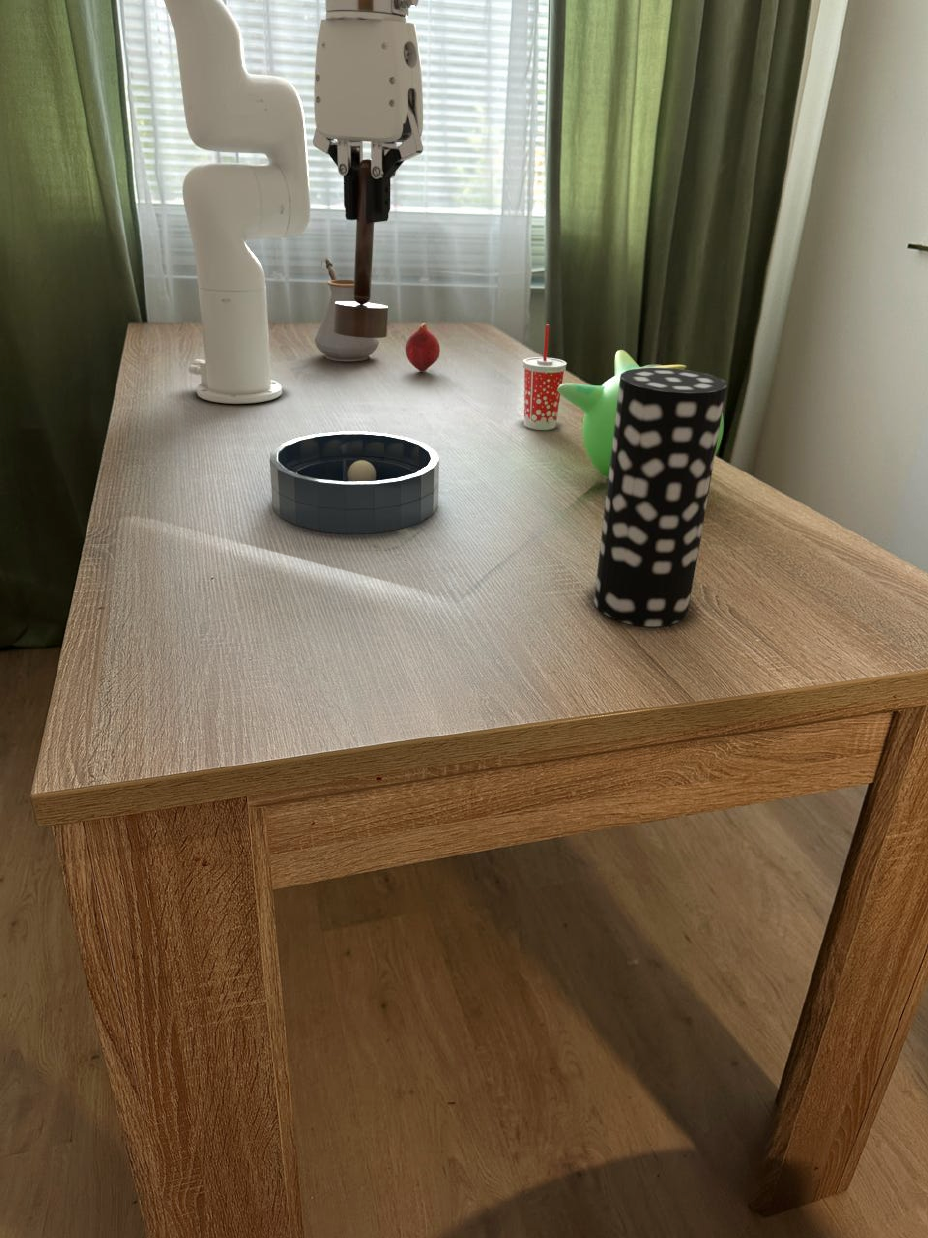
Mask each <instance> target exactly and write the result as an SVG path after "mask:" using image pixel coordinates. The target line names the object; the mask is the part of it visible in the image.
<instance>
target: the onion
mask: <svg viewBox="0 0 928 1238" xmlns="http://www.w3.org/2000/svg"><path fill="white" fill-rule="evenodd" d="M439 344H440V343H439V341H438V339H437V337H436V336H435V334H433V332H431V331H430V330H429V329H428V324H426V323H425V322H422V323H421V324H420V325H419V327H418V329H416V330H415V331H413V332H412V333H411V335H409V337H408V339H407V341H406V344H405V355H406V358H407V360H408V362H409V363H410V364H411V365H412V366H413V367H414V368H415V369H417V370H418V372H422V373H423V372H426V371H427V370H428V369H430V367H432V366H433V365H434V364H435V363H436V362H437V360H438V359H439V357H440V352H441V351H440V345H439Z"/></svg>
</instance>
